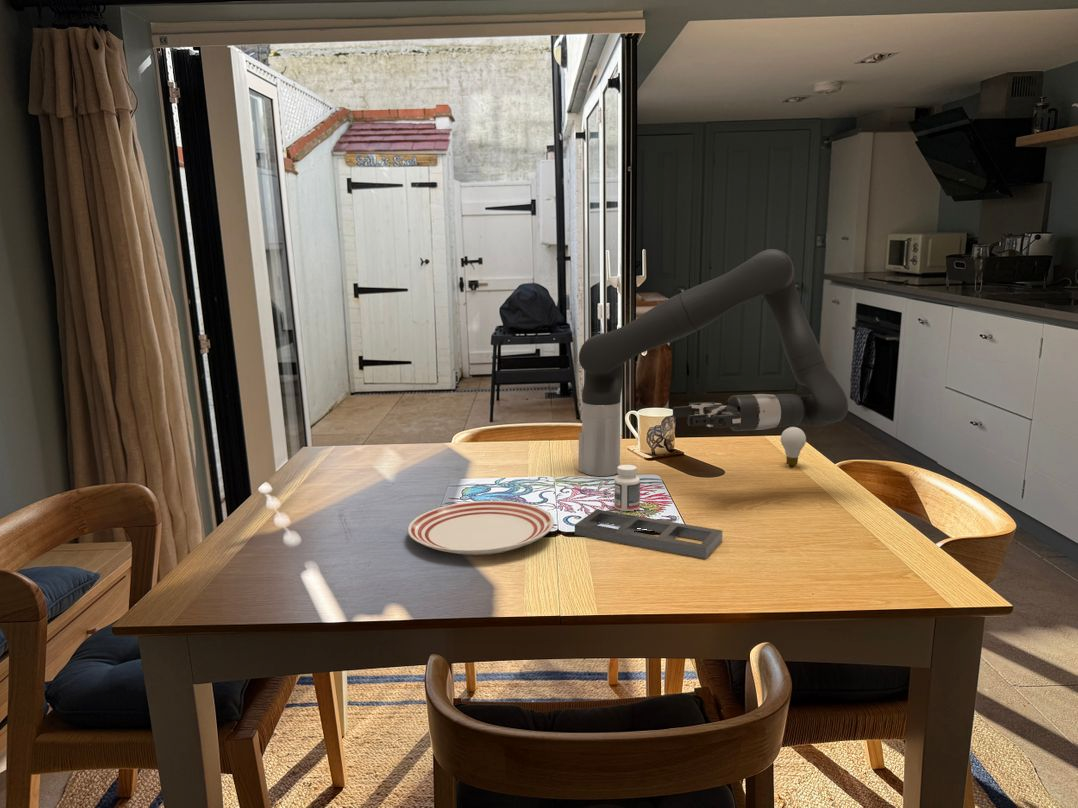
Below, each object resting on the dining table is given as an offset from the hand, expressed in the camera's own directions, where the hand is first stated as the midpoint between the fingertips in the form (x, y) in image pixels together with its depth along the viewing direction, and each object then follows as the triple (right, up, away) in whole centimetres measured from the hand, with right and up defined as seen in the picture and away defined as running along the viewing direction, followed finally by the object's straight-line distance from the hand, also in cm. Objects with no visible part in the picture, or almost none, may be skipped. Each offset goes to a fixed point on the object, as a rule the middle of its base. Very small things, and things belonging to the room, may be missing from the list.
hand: (680, 416), depth 164 cm
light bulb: (+33, -13, +31) cm, 47 cm away
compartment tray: (-9, -22, -15) cm, 28 cm away
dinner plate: (-40, -23, -14) cm, 48 cm away
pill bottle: (-11, -19, +2) cm, 22 cm away
